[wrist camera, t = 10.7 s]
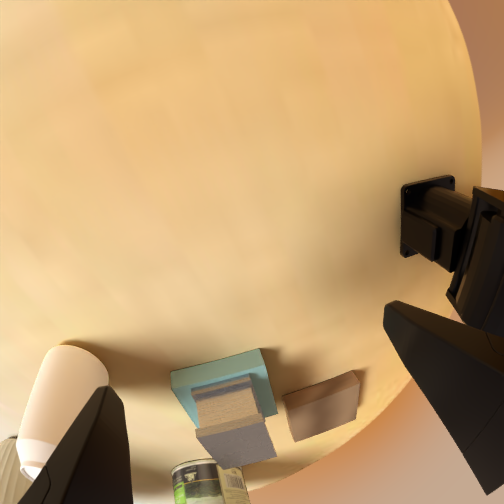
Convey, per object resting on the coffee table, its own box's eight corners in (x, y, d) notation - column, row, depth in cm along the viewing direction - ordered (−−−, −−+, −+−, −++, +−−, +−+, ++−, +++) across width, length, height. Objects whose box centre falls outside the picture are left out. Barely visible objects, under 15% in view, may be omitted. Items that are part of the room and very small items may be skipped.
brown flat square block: (351, 370, 30) (360, 383, 28) (349, 407, 33) (355, 419, 32) (282, 396, 29) (287, 410, 27) (290, 429, 32) (294, 442, 31)
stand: (259, 348, 25) (264, 364, 23) (272, 399, 29) (278, 413, 27) (170, 371, 24) (171, 388, 22) (199, 418, 28) (201, 433, 26)
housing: (263, 415, 27) (277, 456, 22) (214, 427, 26) (223, 470, 22) (248, 373, 23) (263, 421, 19) (190, 388, 23) (196, 437, 18)
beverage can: (45, 373, 22) (16, 480, 11) (49, 327, 20) (5, 449, 9) (104, 394, 24) (94, 506, 13) (117, 353, 22) (102, 484, 12)
